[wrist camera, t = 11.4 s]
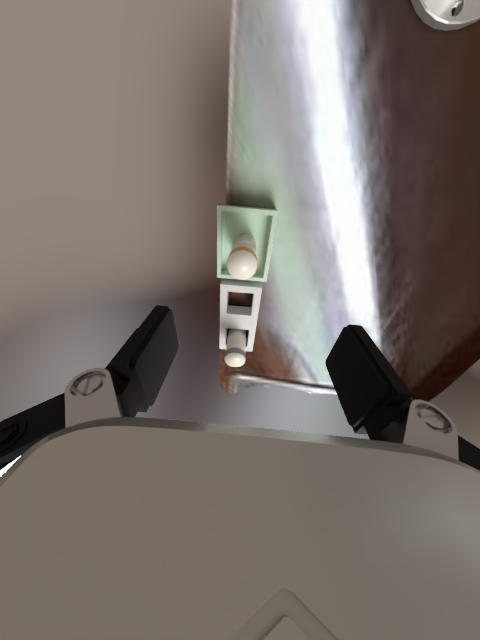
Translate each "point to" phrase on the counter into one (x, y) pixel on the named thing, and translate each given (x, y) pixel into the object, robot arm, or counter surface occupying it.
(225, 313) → the holder block
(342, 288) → the counter surface
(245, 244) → the cylinder
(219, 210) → the tray
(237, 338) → the cylinder
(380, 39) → the counter surface
